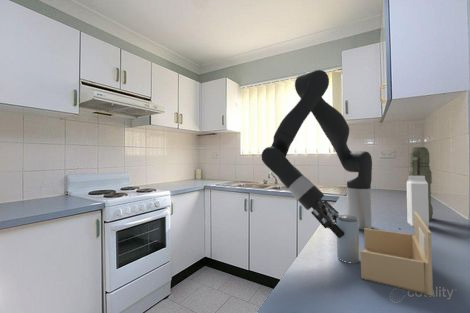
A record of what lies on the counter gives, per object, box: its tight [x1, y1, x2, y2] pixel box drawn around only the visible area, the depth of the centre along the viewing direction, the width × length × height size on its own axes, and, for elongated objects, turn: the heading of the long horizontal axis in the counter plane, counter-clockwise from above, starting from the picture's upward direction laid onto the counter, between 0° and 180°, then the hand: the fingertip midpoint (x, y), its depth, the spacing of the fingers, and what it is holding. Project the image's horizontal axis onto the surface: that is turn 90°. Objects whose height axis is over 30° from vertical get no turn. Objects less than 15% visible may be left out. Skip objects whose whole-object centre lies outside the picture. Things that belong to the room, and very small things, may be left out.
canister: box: [336, 214, 360, 264], centre depth 68 cm, size 6×6×13 cm
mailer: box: [360, 212, 434, 297], centre depth 62 cm, size 22×14×14 cm, turn 148°
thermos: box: [407, 146, 434, 221], centre depth 111 cm, size 9×12×35 cm
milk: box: [406, 175, 430, 229], centre depth 100 cm, size 6×6×22 cm
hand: (344, 232), depth 69 cm, fingers open, 8 cm apart
